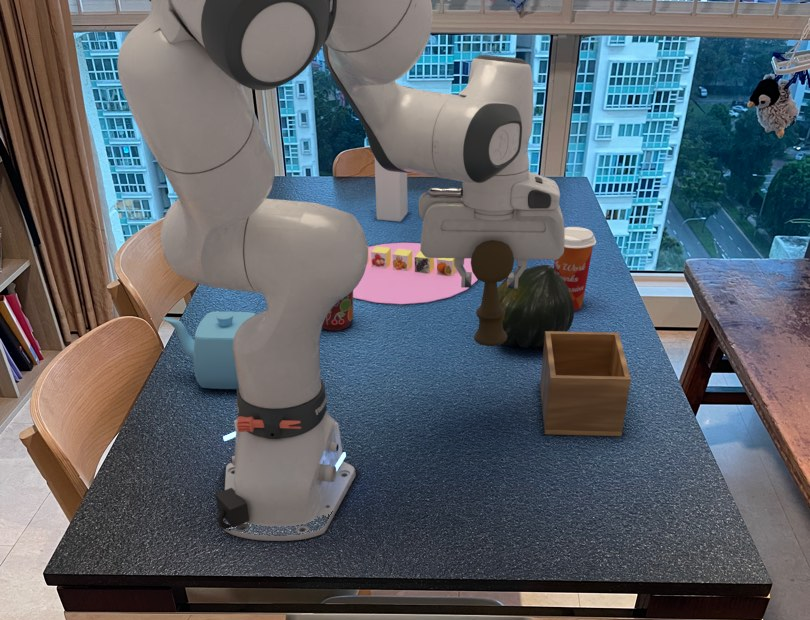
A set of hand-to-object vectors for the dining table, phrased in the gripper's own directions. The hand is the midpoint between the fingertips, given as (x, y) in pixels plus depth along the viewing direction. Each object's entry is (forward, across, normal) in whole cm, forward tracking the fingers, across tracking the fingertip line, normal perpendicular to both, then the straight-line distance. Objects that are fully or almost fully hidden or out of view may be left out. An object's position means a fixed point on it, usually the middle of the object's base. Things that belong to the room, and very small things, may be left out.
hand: (489, 286), depth 128 cm
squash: (+20, +8, +24) cm, 33 cm away
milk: (+19, -21, +88) cm, 92 cm away
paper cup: (+20, +16, +40) cm, 47 cm away
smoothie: (+20, -28, +30) cm, 45 cm away
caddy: (+20, +15, 0) cm, 25 cm away
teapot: (+21, -44, +9) cm, 49 cm away
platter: (+20, -16, +55) cm, 60 cm away
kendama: (+9, +1, 0) cm, 9 cm away
